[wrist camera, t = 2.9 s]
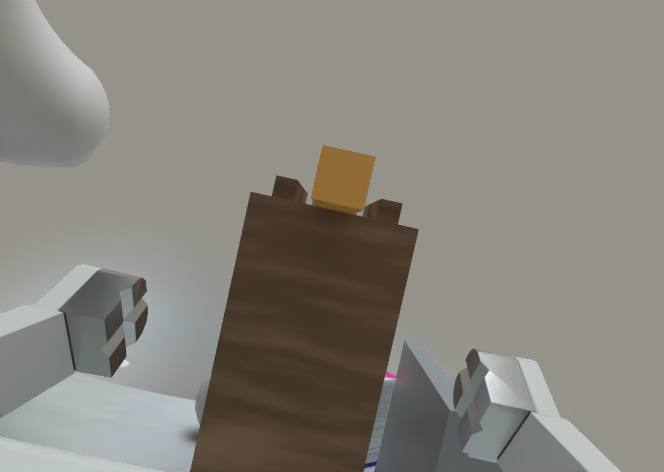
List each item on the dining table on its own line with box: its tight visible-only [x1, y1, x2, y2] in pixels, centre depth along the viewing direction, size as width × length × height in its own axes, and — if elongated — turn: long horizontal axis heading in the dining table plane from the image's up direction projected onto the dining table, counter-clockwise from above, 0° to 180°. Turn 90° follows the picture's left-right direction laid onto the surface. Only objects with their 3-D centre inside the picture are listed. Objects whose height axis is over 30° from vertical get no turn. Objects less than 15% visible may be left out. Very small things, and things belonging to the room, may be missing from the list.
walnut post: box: [190, 176, 418, 472], centre depth 37 cm, size 14×12×32 cm
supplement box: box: [364, 371, 396, 468], centre depth 56 cm, size 6×6×12 cm
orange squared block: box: [311, 145, 375, 215], centre depth 31 cm, size 22×4×4 cm, turn 1°
